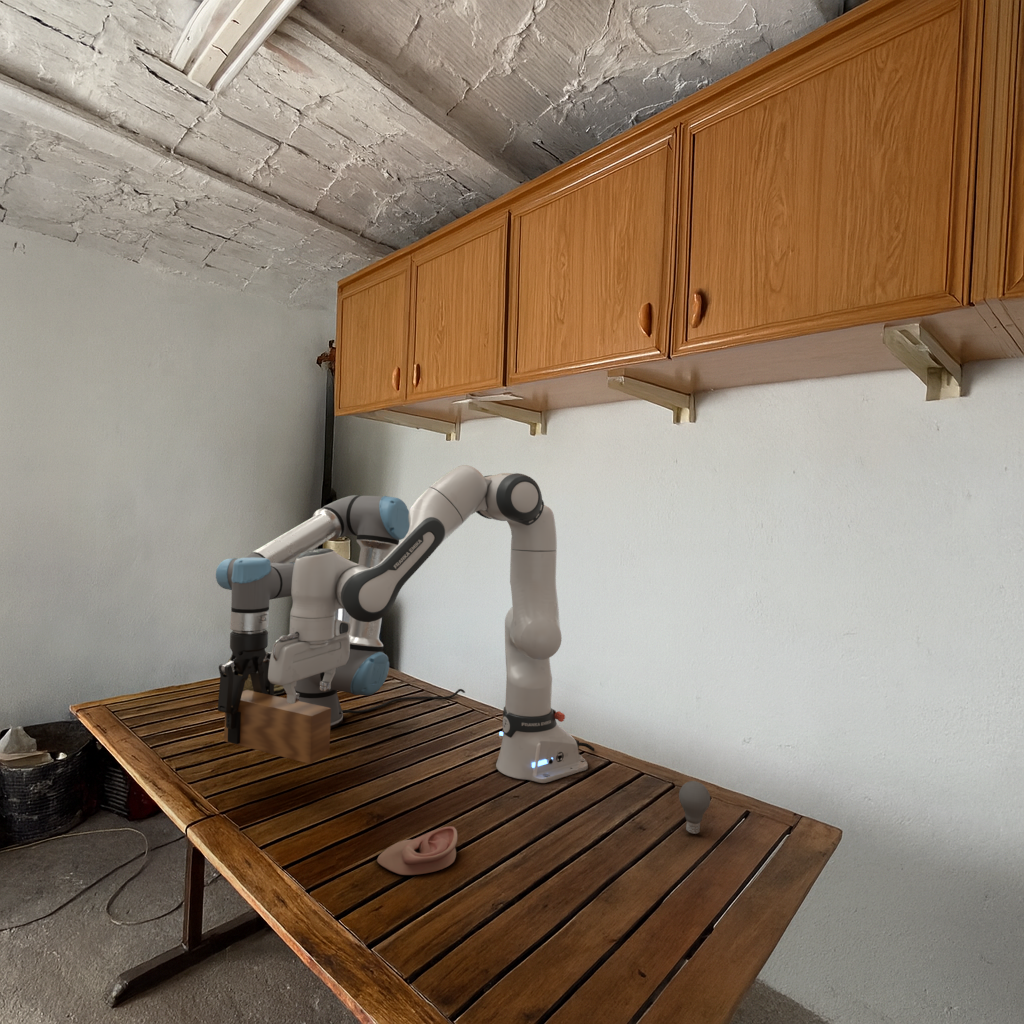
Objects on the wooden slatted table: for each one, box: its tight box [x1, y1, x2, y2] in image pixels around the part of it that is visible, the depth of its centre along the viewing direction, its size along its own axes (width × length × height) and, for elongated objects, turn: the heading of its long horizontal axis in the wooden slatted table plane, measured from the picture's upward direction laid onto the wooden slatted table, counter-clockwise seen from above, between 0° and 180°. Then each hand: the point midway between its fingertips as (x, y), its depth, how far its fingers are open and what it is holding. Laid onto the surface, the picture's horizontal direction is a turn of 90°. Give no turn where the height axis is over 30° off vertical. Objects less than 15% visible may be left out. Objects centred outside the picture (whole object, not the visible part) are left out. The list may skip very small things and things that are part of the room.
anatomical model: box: [376, 826, 459, 876], centre depth 112 cm, size 13×4×12 cm
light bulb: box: [678, 780, 711, 835], centre depth 125 cm, size 6×6×10 cm
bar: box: [223, 690, 331, 765], centre depth 133 cm, size 23×6×10 cm, turn 66°
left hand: (245, 737), depth 136 cm, fingers closed on bar, 6 cm apart
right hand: (309, 696), depth 129 cm, fingers open, 8 cm apart
